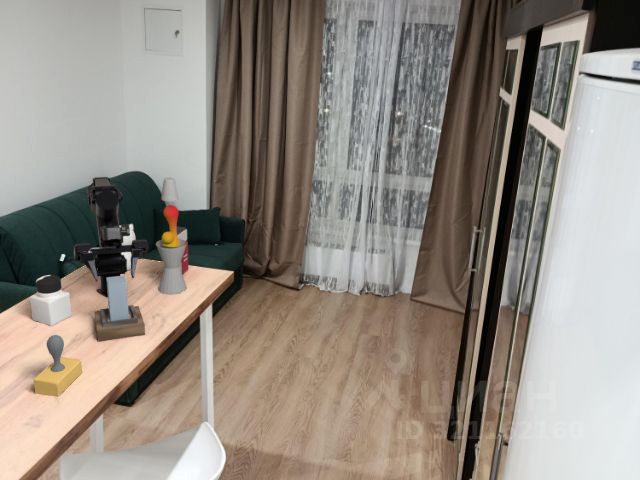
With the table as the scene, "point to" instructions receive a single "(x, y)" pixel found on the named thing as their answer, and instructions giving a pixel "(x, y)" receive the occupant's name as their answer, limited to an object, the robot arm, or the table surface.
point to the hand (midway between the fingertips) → (115, 279)
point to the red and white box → (184, 261)
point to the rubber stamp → (57, 370)
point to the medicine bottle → (50, 301)
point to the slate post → (117, 298)
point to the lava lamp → (171, 244)
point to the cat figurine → (128, 241)
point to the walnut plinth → (119, 325)
